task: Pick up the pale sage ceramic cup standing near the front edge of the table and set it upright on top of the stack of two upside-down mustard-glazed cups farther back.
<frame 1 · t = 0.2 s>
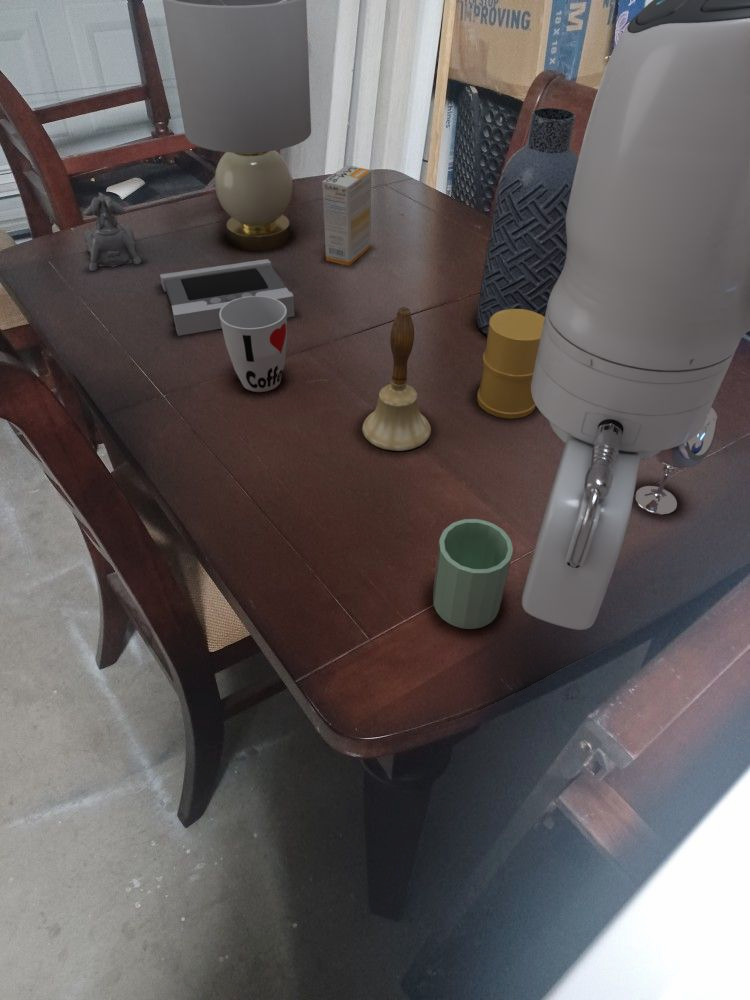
hand: (566, 554, 45), 19 cm above the table, tool pointing down, fingers open, 8 cm apart
cup: (261, 381, 91), on the table
wineglass: (655, 501, 76), on the table
figurine: (114, 257, 117), on the table
alarm clock: (226, 301, 107), on the table
sage cup: (466, 601, 66), on the table
lamp: (259, 238, 123), on the table
cup stack: (506, 400, 89), on the table
vase: (516, 326, 103), on the table
hand bell: (396, 431, 84), on the table
supplement box: (348, 255, 119), on the table
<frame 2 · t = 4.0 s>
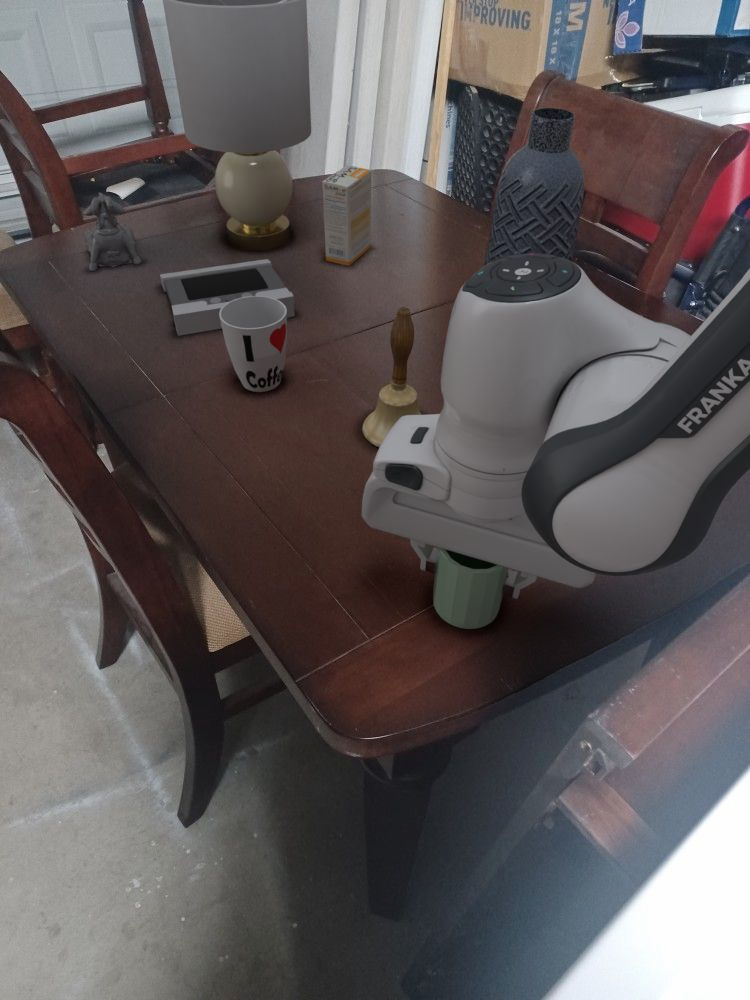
hand: (469, 578, 63), 3 cm above the table, tool pointing down, fingers closed on sage cup, 6 cm apart
sage cup: (466, 601, 66), on the table, touching gripper
everything else where it was.
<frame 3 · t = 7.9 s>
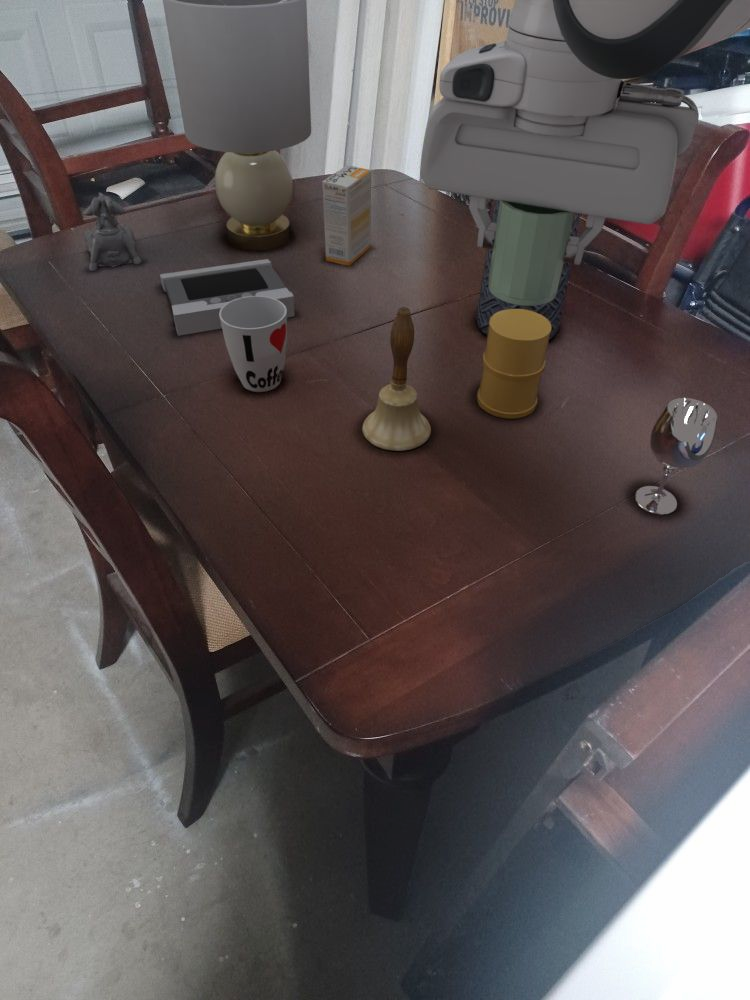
hand: (528, 253, 62), 26 cm above the table, tool pointing down, fingers closed on sage cup, 6 cm apart
sage cup: (522, 289, 64), point 22 cm above the table, touching gripper
everything else where it was.
when the fingers open (14 cm above the table, at t = 12.0 s): sage cup stays where it is, resting on cup stack.
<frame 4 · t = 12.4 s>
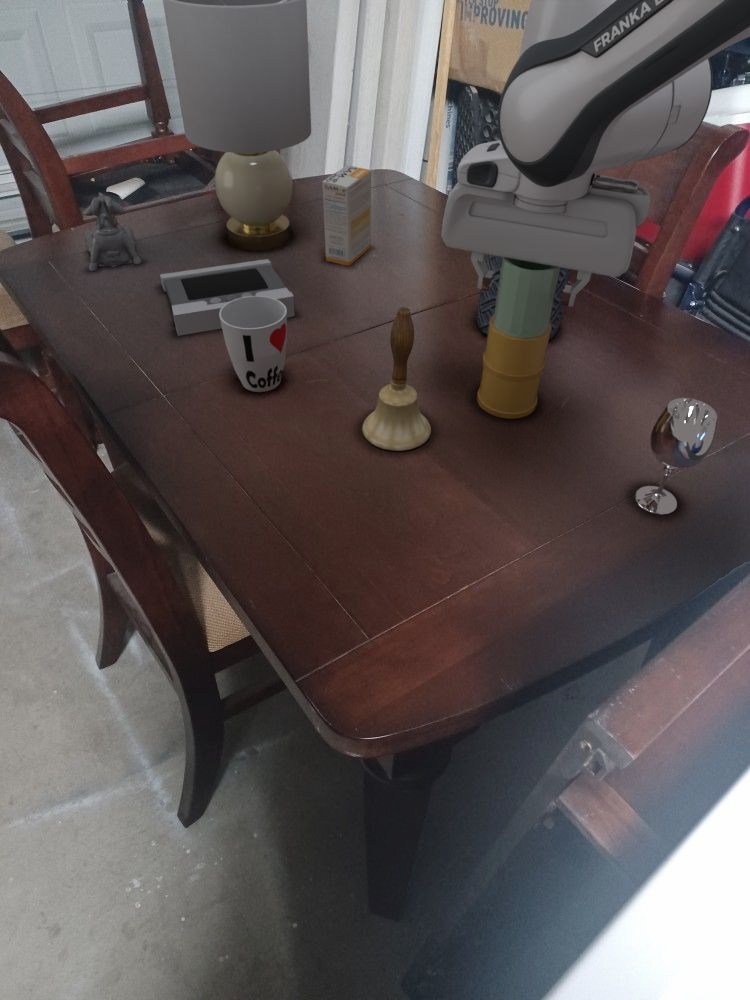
hand: (525, 295, 79), 15 cm above the table, tool pointing down, fingers open, 8 cm apart
sage cup: (520, 324, 81), point 11 cm above the table, touching cup stack
everything else where it was.
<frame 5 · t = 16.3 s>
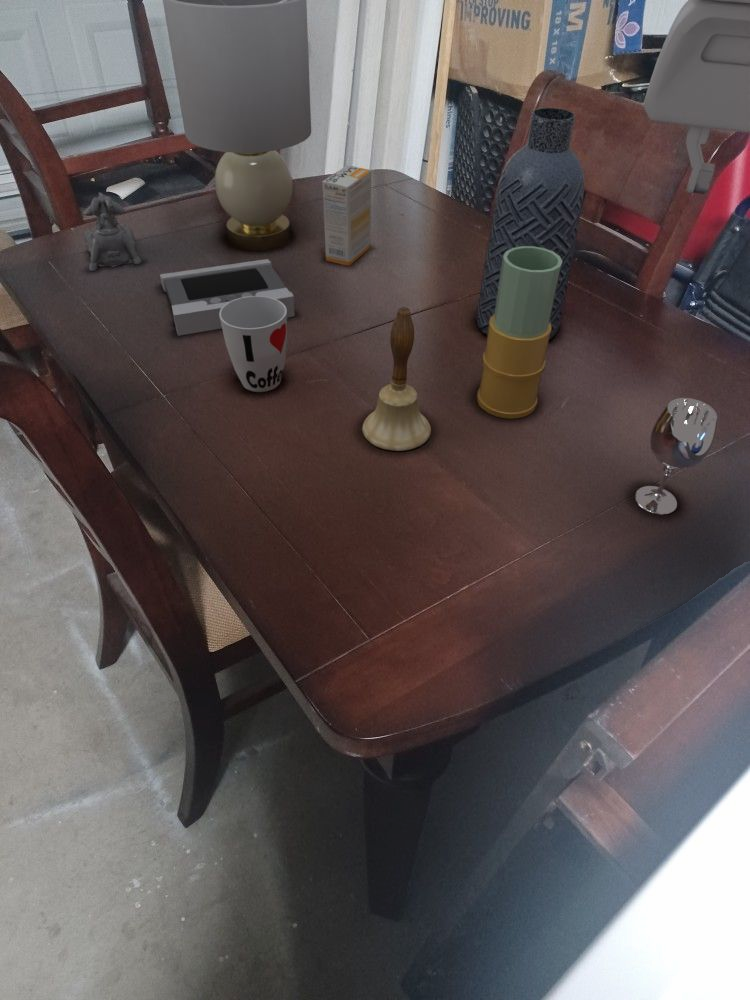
nothing on the table moved.
at the end: sage cup 0.1 cm off-centre on the cup stack, point 11.0 cm above the cup stack's base; sage cup tilted 0°; the gripper is holding nothing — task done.
